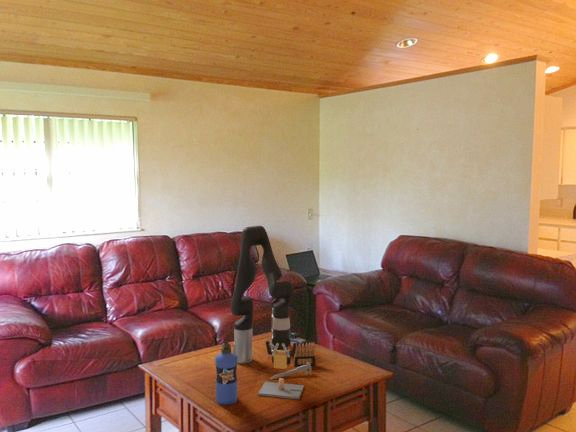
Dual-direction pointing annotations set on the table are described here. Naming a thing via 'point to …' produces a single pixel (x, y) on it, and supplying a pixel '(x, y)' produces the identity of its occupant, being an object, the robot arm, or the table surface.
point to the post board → (281, 390)
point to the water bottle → (226, 376)
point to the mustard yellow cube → (280, 359)
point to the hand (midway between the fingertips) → (281, 364)
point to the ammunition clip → (304, 355)
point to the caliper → (294, 371)
